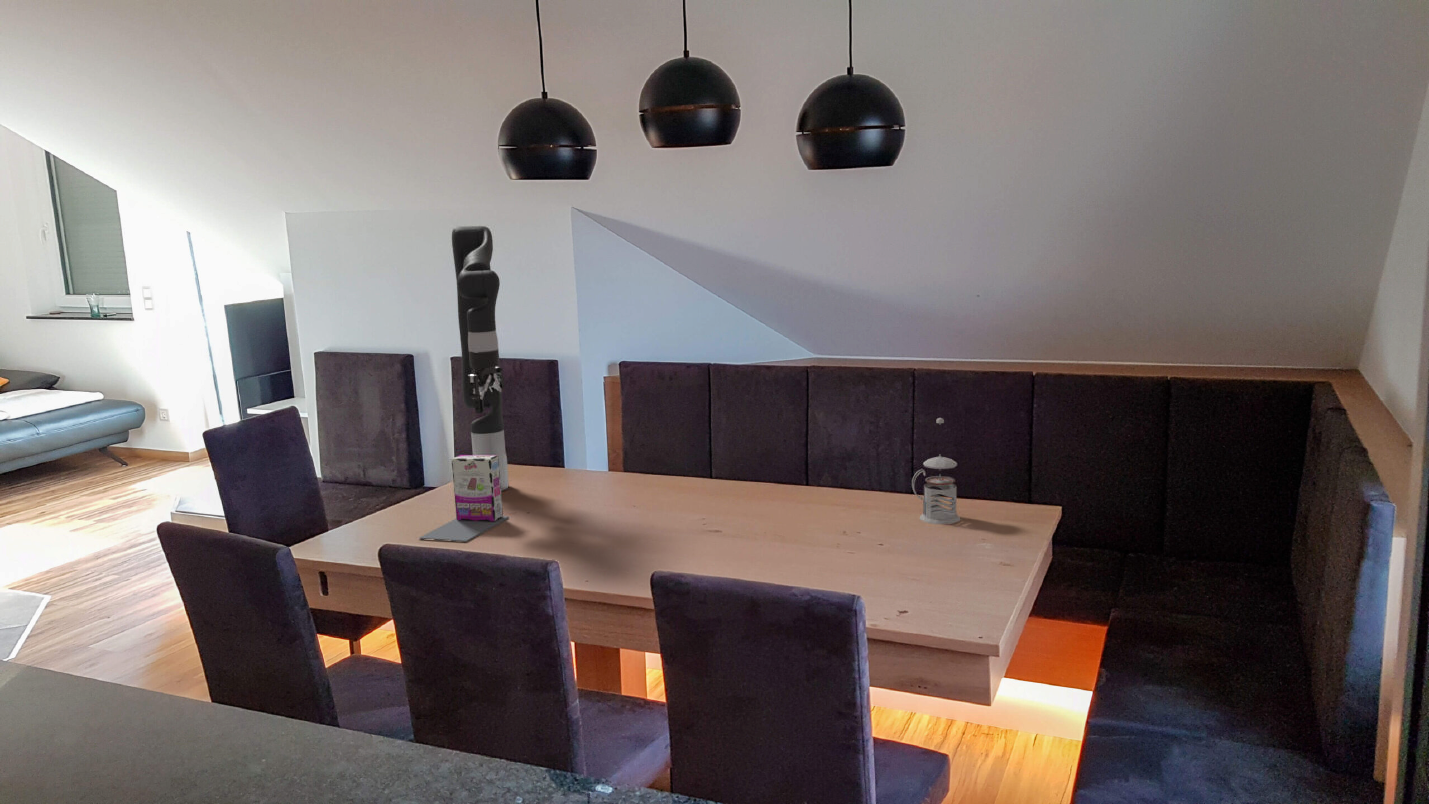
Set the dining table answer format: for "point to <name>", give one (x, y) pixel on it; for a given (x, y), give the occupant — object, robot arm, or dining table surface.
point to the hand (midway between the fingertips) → (488, 410)
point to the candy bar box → (477, 487)
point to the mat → (462, 530)
